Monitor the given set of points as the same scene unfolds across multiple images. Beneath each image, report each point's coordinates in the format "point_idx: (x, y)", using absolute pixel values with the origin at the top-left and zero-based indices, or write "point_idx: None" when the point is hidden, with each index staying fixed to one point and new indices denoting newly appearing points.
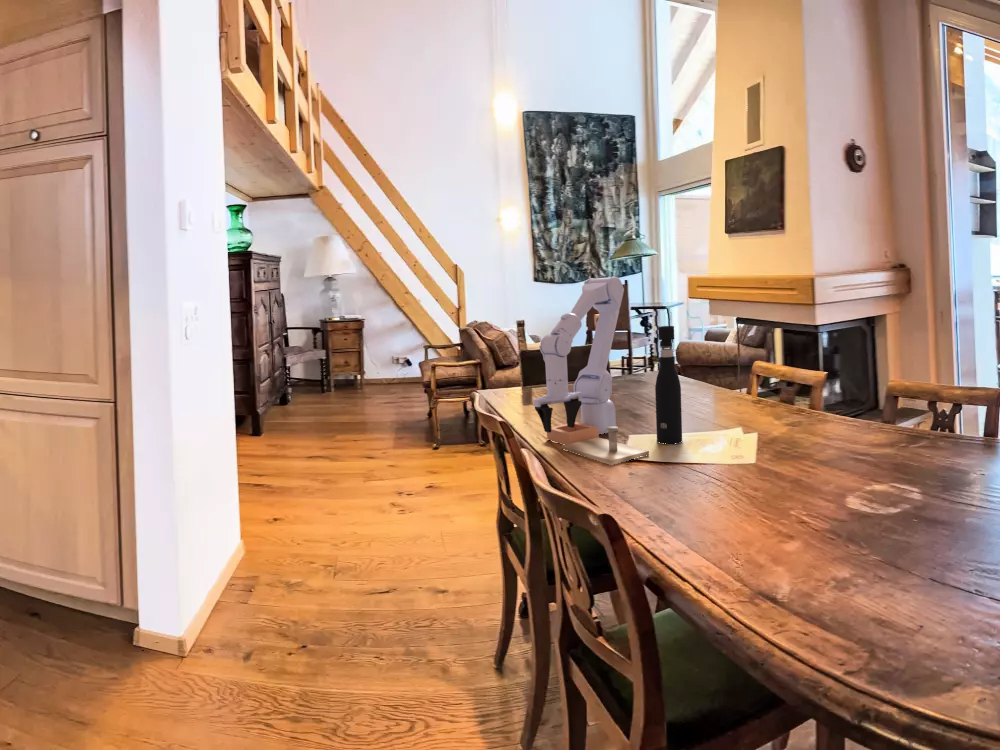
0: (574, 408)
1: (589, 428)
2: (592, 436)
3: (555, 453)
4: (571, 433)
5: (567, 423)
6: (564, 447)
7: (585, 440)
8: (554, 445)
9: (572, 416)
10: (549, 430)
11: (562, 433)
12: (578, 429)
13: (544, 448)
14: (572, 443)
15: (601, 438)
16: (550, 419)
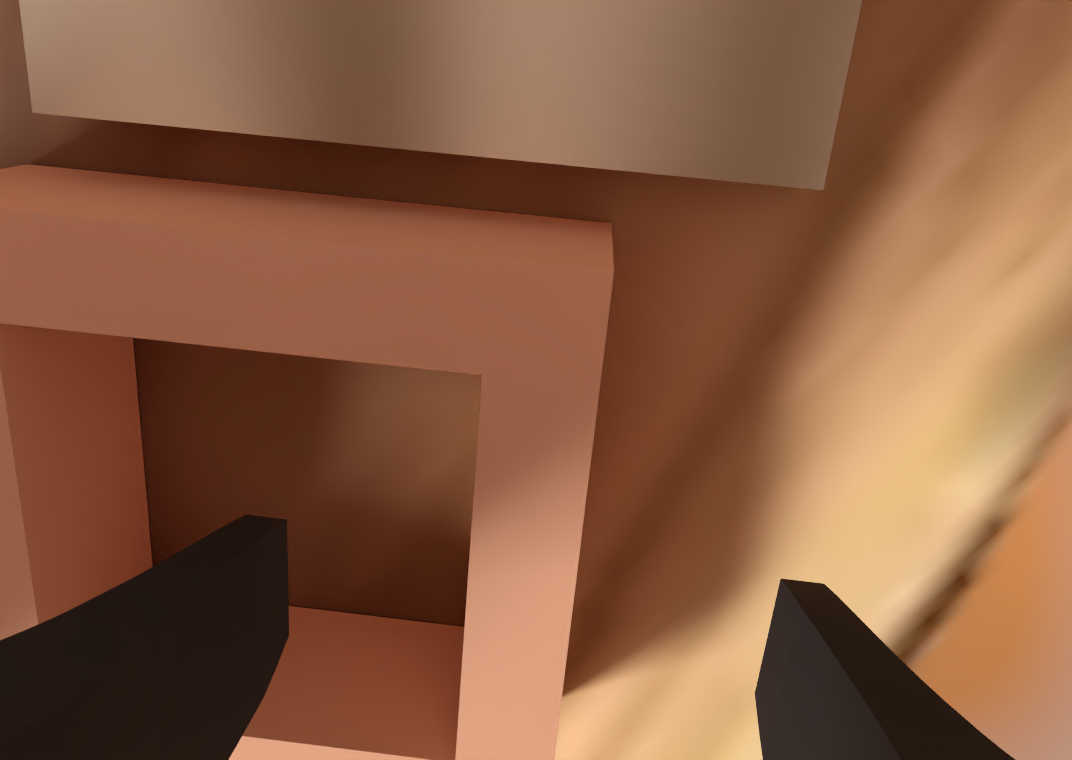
0: (11, 738)
1: (31, 289)
2: (103, 188)
3: (1019, 119)
4: (533, 272)
5: (266, 676)
6: (829, 120)
7: (324, 125)
8: (671, 468)
9: (167, 652)
10: (837, 596)
11: (588, 456)
12: (87, 581)
13: (879, 461)
14: (608, 155)
15: (33, 1)
16: (904, 738)
